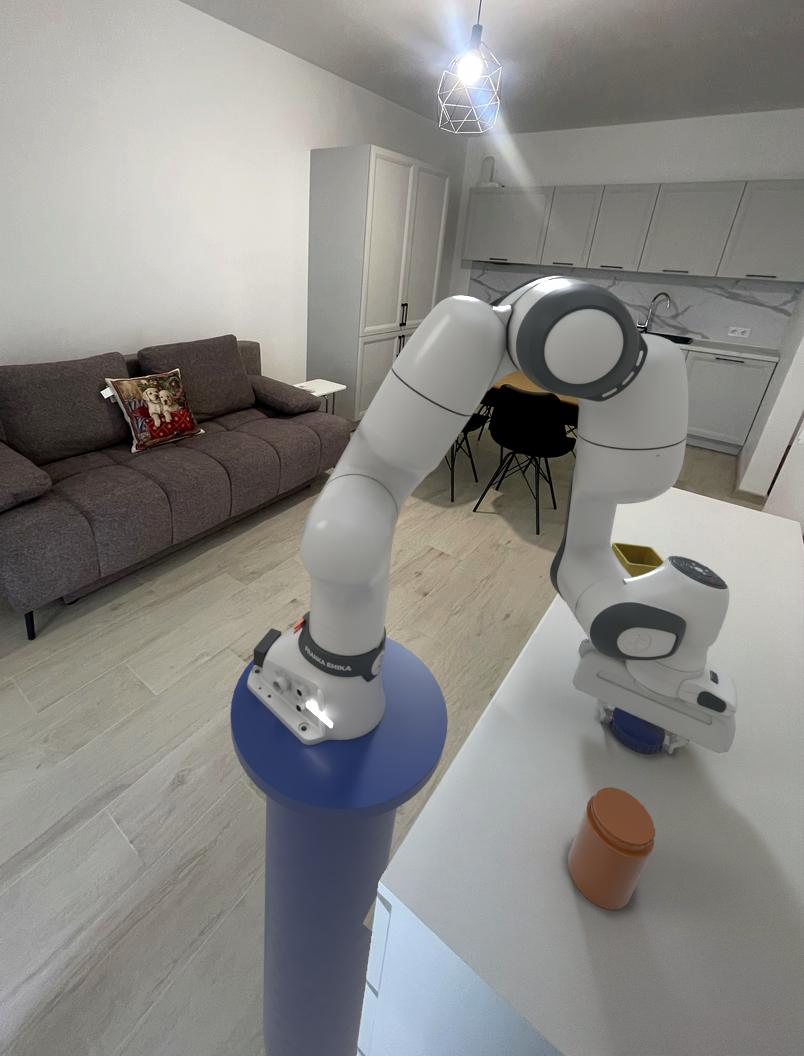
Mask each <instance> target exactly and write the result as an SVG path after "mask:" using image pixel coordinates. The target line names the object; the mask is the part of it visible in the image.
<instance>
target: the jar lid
mask: <svg viewBox="0 0 804 1056" xmlns="http://www.w3.org/2000/svg"><path fill="white" fill-rule="evenodd" d="M612 711H613V712H612V716H611V717H612V720H611V722H610V725H609V727H610V729H611V731H612V733H613V735H614V736H615V737H616V738H617V740H618V741H620V742H621V743H622V744H624V746H626V747H628V748H629V749H631V750H632V751H636V752H638V753H641V754H646V755H647V754H648V755H651V754H656V753H658V752H659V751H661V747H662V744H663V742H664V739H665V735H666V732H665V729H663V728H661V727H659V726H656V725H654V724H652V723H650V722H648V721H645V720H643V719H641V718H639V717H636V716H634V715H632V714H630V713H628V712H625V711H623V710H621V709H619V708H617V707H614V709H613V710H612Z"/></svg>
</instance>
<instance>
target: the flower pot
mask: <svg viewBox="0 0 804 1056" xmlns="http://www.w3.org/2000/svg"><path fill="white" fill-rule="evenodd" d="M611 547H612V549H613V552H614V554H615V555H616V557H617V559H618V560H619V562H620V563H621V565H622V566H623V567H624V568H625V570H626V571H627V572H628V573H629V574H630V575H631V576H632V577H636V576H640V575H643V574H646V573H648V572H650V571H652V570H654V569H656V568H658V567H659V566H661V565H662V563H663V562H664V561H665V560H664V559H663V558H662V557H661V555H660V554H659V553H658V552H657V551H656V550H655V548H653V547H652V546H648V545H642V544H632V543H626V542H625V543H623V542H612V543H611Z"/></svg>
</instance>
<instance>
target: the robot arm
mask: <svg viewBox="0 0 804 1056" xmlns="http://www.w3.org/2000/svg"><path fill="white" fill-rule="evenodd" d="M686 363H687V362H686V358H685V355H684V352H683V350H682V349H681V348H680V347H679V346H678V345H677V343H675V342H673V341H671V340H670V339H669V338H665V337H662V336H660V335H656V334H651V333H641V332H640V330H639V329H638V327H637V325H636V323H635V320H634V318H633V317H632V314H631V313H630V310H629V309H628V307H627V306H626V305H625V303H624V302H623V301H622V300H621V299H620V298H619V297H618V296H617V295H615V294H614V293H612V291H610V290H609V289H607V288H605V287H602V286H600V285H596V284H593V283H591V282H589V281H588V280H585V279H583V278H579V277H577V276H576V277H575V276H568V275H542V276H538V277H535V278H532V279H529V280H527V281H525V282H523V283H521V284H519V285H518V286H516V287H515V288H513V289H511V290H509V292H507V293H505V294H503V295H501V296H499V297H498V298H496V299H495V300H493V301H491V302H490V303H487V302H485V301H483V300H481V299H478V298H475V297H472V296H466V295H453V296H449V297H446V298H444V299H442V300H441V301H439V302H438V303H437V304H436V305H435V306H434V307H433V308H432V309H431V311H429V313H428V314H427V315H426V317H425V318H424V319H423V320H422V322H421V323H420V324H419V326H418V327H417V328H416V329H415V331H414V332H413V334H412V335H411V336H410V337H409V339H408V340H407V342H406V343H405V344H404V346H403V347H402V349H401V350H400V352H399V354H398V356H397V357H396V359H395V361H394V363H393V364H392V366H391V367H390V369H389V371H388V372H387V374H386V376H385V378H384V380H383V381H382V383H381V385H380V387H379V388H378V390H377V392H376V394H375V395H374V397H373V399H372V401H371V403H370V404H369V406H368V407H367V409H366V411H365V413H364V415H363V417H362V419H361V420H360V421H359V424H358V425H357V427H356V429H355V431H354V433H353V435H352V437H351V439H350V440H349V441H348V443H347V445H346V447H345V450H344V451H343V453H342V454H341V456H340V458H339V460H338V461H337V463H336V465H335V466H334V469H333V470H332V472H331V474H330V475H329V477H328V479H327V480H326V482H325V484H324V486H323V487H322V489H321V491H320V492H319V494H318V496H317V497H316V499H315V501H314V503H313V505H312V506H311V508H310V509H309V511H308V512H307V515H306V517H305V519H304V524H303V528H302V532H301V537H300V544H299V555H300V560H301V563H302V565H303V567H304V569H305V571H306V572H307V574H308V575H309V580H310V597H309V598H310V599H309V610H308V611H307V612H306V613H304V615H303V616H302V619H301V620H300V621H298V622H297V623H296V624H295V625H294V626H292V627H291V628H289V629H287V630H286V631H284V632H283V633H282V630H278V629H276V628H273V627H271V628H270V629H269V630H268V631H267V632H266V633H265V635H264V637H262V639H261V640H260V641H259V642H258V643H257V644H256V646H255V647H254V648H253V659H254V665H255V666H254V667H253V669H252V670H251V672H250V674H249V677H248V682H247V687H248V689H249V690H250V691H251V692H252V693H253V694H254V695H255V696H256V697H257V698H258V699H259V700H260V701H261V702H262V703H263V704H264V705H265V706H266V707H267V708H268V709H269V710H270V711H271V712H272V713H273V714H274V715H275V716H276V717H277V718H278V719H279V720H280V721H281V722H282V723H283V724H284V725H285V726H286V727H287V728H288V729H289V730H290V731H291V732H292V733H293V734H294V735H295V736H296V737H297V738H298V739H299V740H300V741H301V742H302V743H303V744H305V745H314V744H317V743H320V742H323V741H326V740H349V739H354V738H358V737H360V736H363V735H365V734H367V733H368V732H370V731H371V730H373V729H374V728H375V727H376V726H377V725H378V723H379V722H380V721H381V719H382V717H383V715H384V712H385V706H386V702H385V695H384V692H383V687H382V679H381V668H382V665H383V661H384V656H385V642H386V637H387V630H386V626H385V625H386V624H385V623H386V616H387V607H388V601H389V599H388V598H389V592H390V587H389V582H390V567H391V557H392V550H393V549H392V548H393V543H394V537H395V533H396V527H397V523H398V521H399V518H400V514H401V512H402V510H403V508H404V505H405V503H406V502H407V500H408V499H409V497H410V496H411V494H413V492H414V491H415V490H416V489H417V488H418V487H419V485H420V484H421V483H422V482H423V481H424V479H425V478H427V476H428V475H429V474H430V473H432V472H434V471H435V470H436V469H437V468H438V467H439V465H440V463H441V462H442V461H443V460H444V458H445V457H446V455H447V453H448V452H449V450H450V449H451V448H452V446H453V444H454V443H455V442H456V440H457V439H458V437H459V435H460V434H461V433H462V431H463V430H464V428H465V427H466V425H467V423H468V422H469V421H470V420H471V418H472V416H473V415H474V413H475V411H476V410H477V408H478V407H479V405H480V403H481V402H482V400H483V399H484V398H485V395H486V393H487V392H489V391H490V390H491V389H492V387H493V386H494V385H495V384H496V383H498V382H499V381H500V380H502V379H503V378H505V377H507V376H508V375H511V374H512V373H516V372H518V371H519V372H521V373H522V374H523V375H524V376H525V377H526V378H527V379H528V380H529V381H530V382H531V383H532V384H534V385H535V386H536V387H538V388H539V389H541V390H544V391H546V392H549V393H550V394H551V393H552V394H555V395H558V396H559V395H560V396H564V397H571V398H577V399H576V400H577V405H578V417H577V433H576V434H577V435H576V455H575V465H574V467H573V470H572V474H571V477H570V482H569V483H570V484H569V488H568V489H569V490H568V496H567V504H566V511H565V512H566V513H565V521H564V528H563V536H562V539H561V542H560V545H559V547H558V549H557V551H556V552H555V555H554V557H553V560H552V562H551V565H550V569H549V578H550V582H551V585H552V587H553V589H554V590H555V591H556V593H557V594H558V595H559V596H560V597H561V599H562V600H563V602H565V604H566V605H567V607H568V608H569V610H570V612H571V614H572V615H573V617H575V620H576V621H577V623H578V625H580V627H581V628H582V630H583V632H584V633H585V635H586V636H587V638H585V639H582V641H581V642H580V643H579V647H578V655H579V657H580V658H579V659H578V662H577V665H576V666H575V670H574V672H573V676H572V678H571V679H572V681H571V682H572V684H573V686H574V689H576V690H577V691H578V692H581V693H583V694H585V695H588V696H589V697H592V698H594V699H596V705H597V708H598V710H599V713H600V716H599V721H600V722H602V723H604V724H606V725H607V726H610V722H611V720H612V717H611V716H612V712H613V710H612V709H610V708H608V705H610V706H612V707H614V708H615V707H617V708H619V709H621V710H623V711H625V712H628V713H630V714H632V715H634V716H636V717H639V718H641V719H643V720H645V721H648V722H650V723H652V724H654V725H656V726H659V727H661V728H663V729H664V731H667V732H670V733H672V734H671V735H667V734H665V739H664V742H663V744H662V747H661V749H660V751H663V752H665V753H667V754H669V755H671V756H672V755H673V752H674V751H675V749H678V748H680V747H683V746H685V745H687V744H688V742H689V741H690V742H692V743H694V744H696V745H698V746H701V747H704V748H705V749H708V750H710V751H712V752H714V753H716V754H725V753H727V752H729V751H730V749H731V748H732V745H733V742H734V738H735V735H736V730H737V724H736V712H737V709H738V692H737V688H736V685H735V682H734V678H733V677H732V676H731V675H730V674H729V673H727V672H726V671H724V670H723V669H721V668H719V667H718V666H717V665H715V664H714V663H712V662H711V661H709V660H708V651H709V649H710V648H711V647H712V646H713V645H714V644H715V643H716V642H717V639H718V637H719V635H720V632H721V630H722V628H723V625H724V622H725V619H726V616H727V613H728V609H729V605H730V588H729V586H728V584H727V583H726V582H725V580H723V578H722V577H721V576H719V575H718V574H717V573H716V572H715V571H713V570H712V569H711V568H709V567H708V566H706V565H704V564H702V563H700V562H699V561H696V560H693V559H692V558H688V557H685V556H679V555H670V556H668V557H667V558H665V560H664V562H663V563H662V565H661V566H659V567H658V568H656V569H654V570H652V571H650V572H648V573H646V574H643V575H640V576H636V577H632V576H631V575H630V574H629V573H628V572H627V571H626V570H625V568H624V567H623V566H622V565H621V563H620V562H619V560H618V559H617V557H616V555H615V554H614V552H613V549H612V543H611V542H612V541H611V540H612V533H613V528H614V523H615V518H616V517H615V516H616V512H617V506H618V505H628V504H629V505H630V504H637V503H644V502H647V501H648V502H649V501H650V500H653V499H656V498H658V497H660V496H662V495H664V494H665V493H666V492H667V491H669V490H670V489H671V488H672V487H673V486H674V485H675V484H676V482H677V481H678V478H679V476H680V474H681V471H682V468H683V464H684V460H685V453H686V445H687V437H688V426H689V425H688V424H689V407H690V406H689V403H690V401H689V399H690V398H689V382H688V371H687V370H688V369H687V364H686ZM302 730H306V731H302Z"/></svg>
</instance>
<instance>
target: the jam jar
mask: <svg viewBox="0 0 804 1056" xmlns="http://www.w3.org/2000/svg"><path fill="white" fill-rule="evenodd" d="M653 821H654V820H653V819H652V817H651V814H650V813H649V811H648V810H647V809H646V807H645V806H644V805H643V803H642V802H640V801H639V800H638V799H637V798H636V797H635V796H633V795H632V794H630V793H629V792H627V791H625V790H623V789H620V788H616V787H609V786H607V787H602V788H601V789H599V790H597V792H596V793H595V794H594V795H592V796H591V797H590V798H589V799H588V801H587V803H586V806H585V808H584V810H583V814H582V817H581V819H580V822H579V825H578V828H577V830H576V833H575V835H574V838H573V841H572V843H571V845H570V846H571V847H570V849H569V852H568V855H567V868H568V871H569V874H570V875H569V876H570V877H571V880H572V881H573V883H574V885H575V886H576V887H577V889H578V890H579V892H580V893H581V894H582V895H583V896H584V898H586V899H587V900H589V901H590V902H592V903H593V904H594V905H596V906H597V907H600V908H602V909H605V910H609V911H617V910H621V909H623V908H624V907H626V906H627V905H628V903H629V902H630V900H631V897H632V895H633V893H634V891H635V889H636V886H637V884H638V882H639V880H640V878H641V876H642V873H643V871H644V869H645V867H646V865H647V864H648V860H649V859H650V856H651V854H652V853H653V850H654V847H655V837H656V828H655V826H654V822H653Z"/></svg>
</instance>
